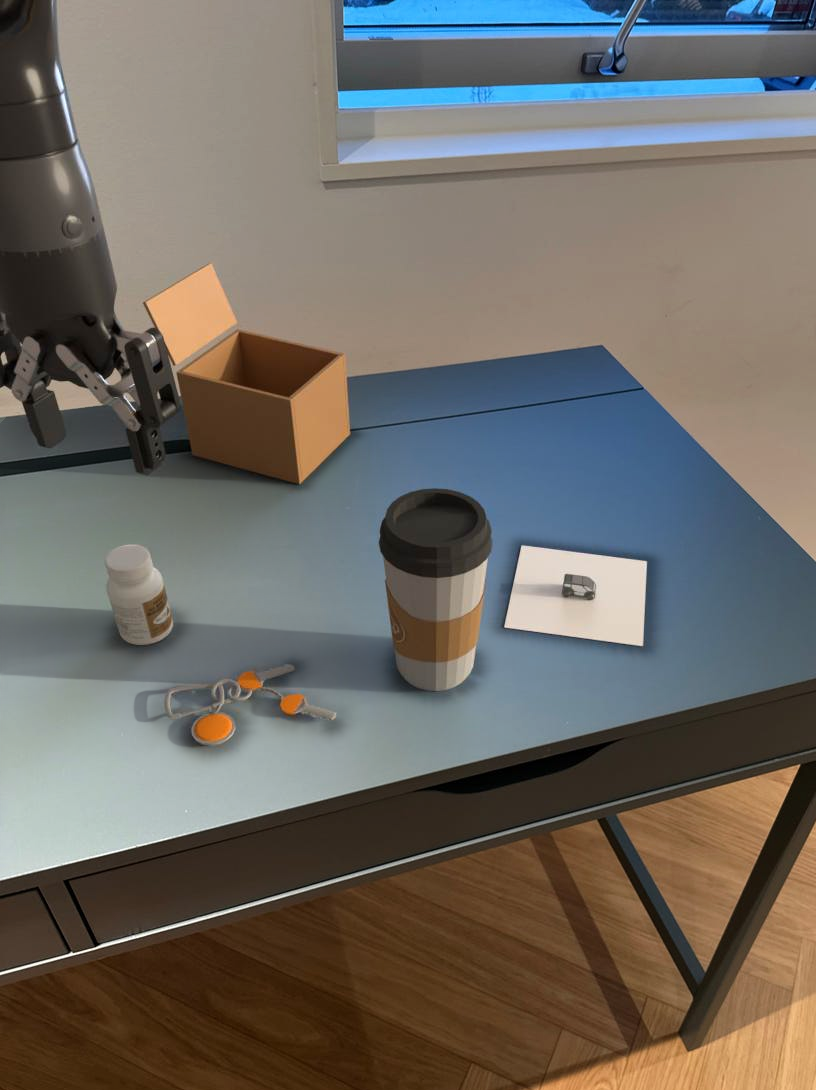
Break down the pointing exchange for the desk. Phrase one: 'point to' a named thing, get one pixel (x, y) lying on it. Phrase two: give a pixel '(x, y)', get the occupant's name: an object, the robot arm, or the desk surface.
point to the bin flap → (191, 313)
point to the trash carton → (266, 404)
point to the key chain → (222, 725)
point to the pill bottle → (137, 595)
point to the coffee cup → (435, 583)
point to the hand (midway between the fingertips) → (101, 455)
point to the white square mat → (578, 595)
